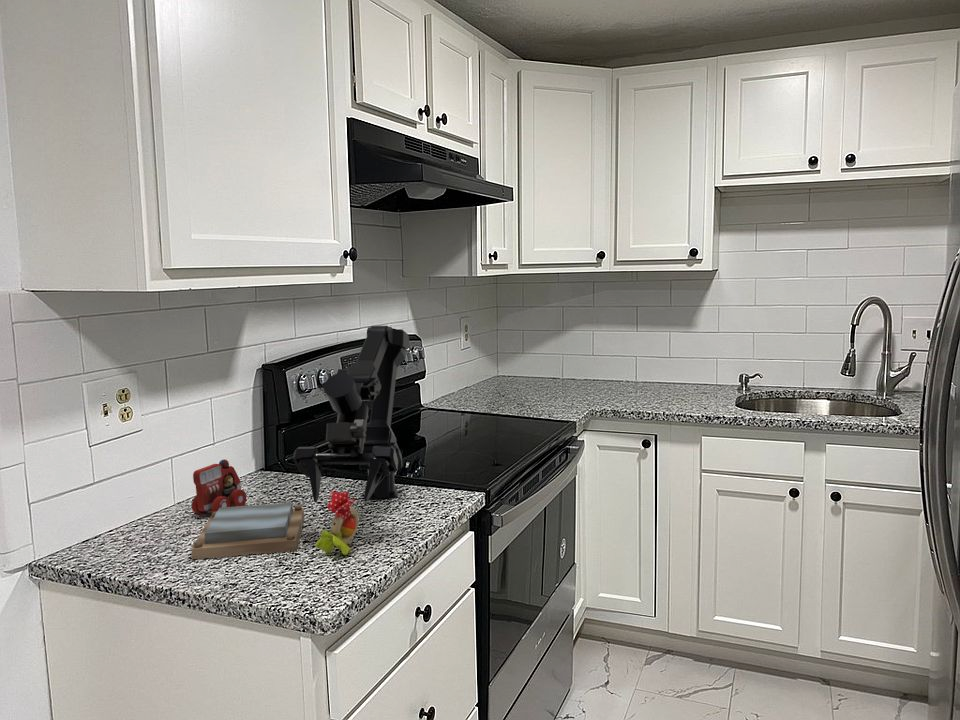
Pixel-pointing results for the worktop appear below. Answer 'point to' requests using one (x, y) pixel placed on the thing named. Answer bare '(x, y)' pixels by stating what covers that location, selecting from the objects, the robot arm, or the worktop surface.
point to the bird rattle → (340, 524)
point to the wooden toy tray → (250, 531)
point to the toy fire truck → (217, 488)
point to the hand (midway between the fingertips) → (340, 500)
